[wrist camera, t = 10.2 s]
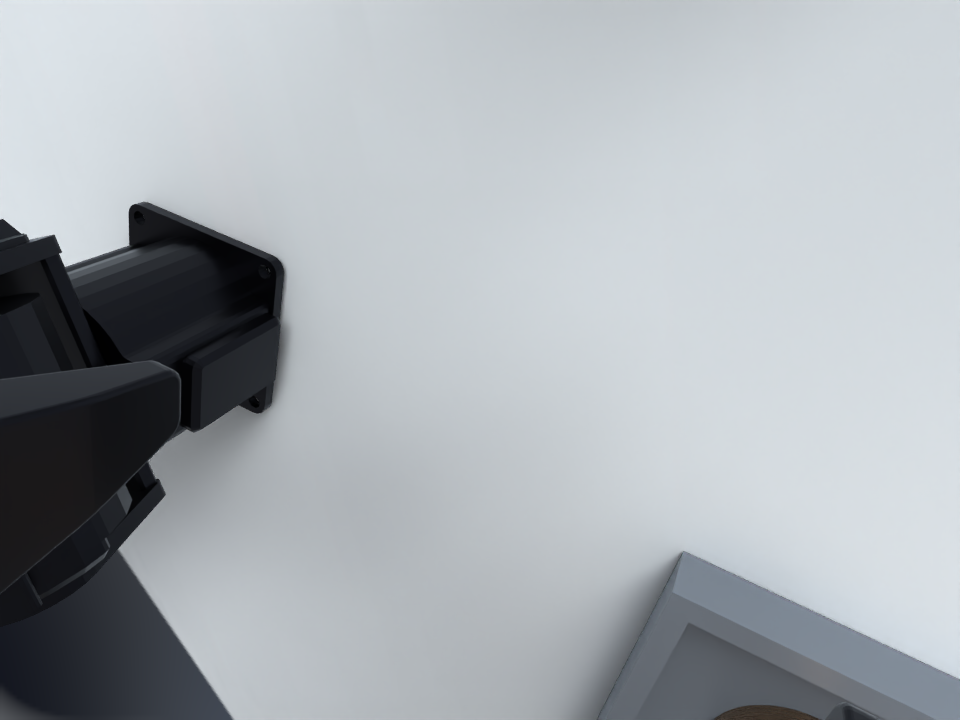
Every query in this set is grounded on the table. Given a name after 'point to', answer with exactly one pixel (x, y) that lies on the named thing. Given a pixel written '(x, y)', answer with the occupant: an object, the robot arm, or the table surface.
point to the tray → (763, 659)
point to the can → (764, 713)
